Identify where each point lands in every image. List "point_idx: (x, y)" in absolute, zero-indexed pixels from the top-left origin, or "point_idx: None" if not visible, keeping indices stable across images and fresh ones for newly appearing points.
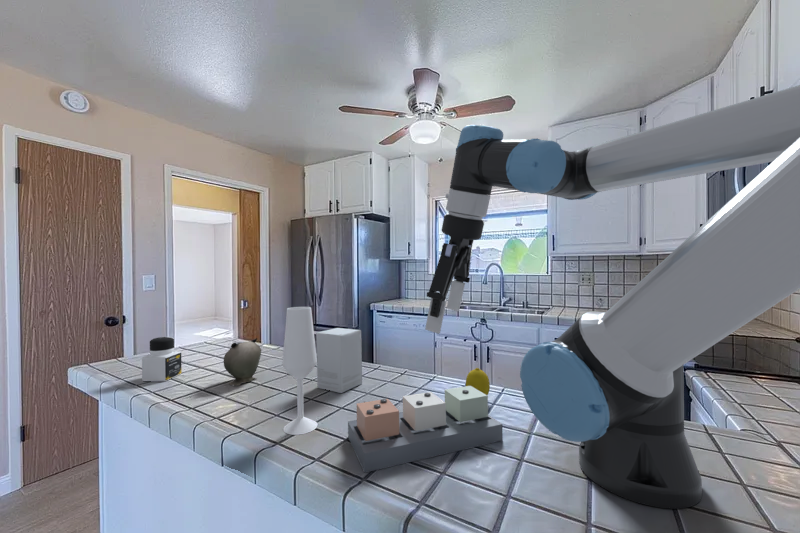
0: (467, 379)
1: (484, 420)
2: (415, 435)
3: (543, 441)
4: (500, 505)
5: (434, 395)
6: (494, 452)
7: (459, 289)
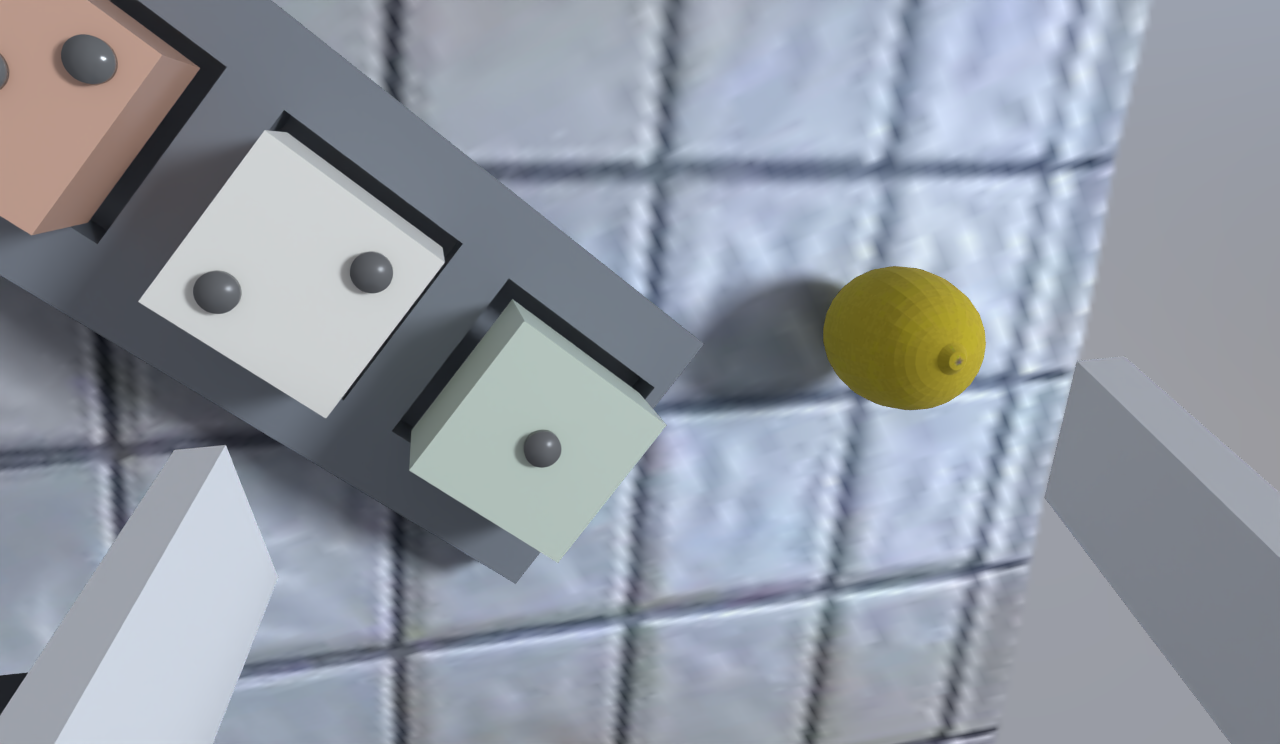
0: (883, 298)
1: None
2: None
3: (585, 672)
4: None
5: (399, 309)
6: (395, 555)
7: (1269, 725)
